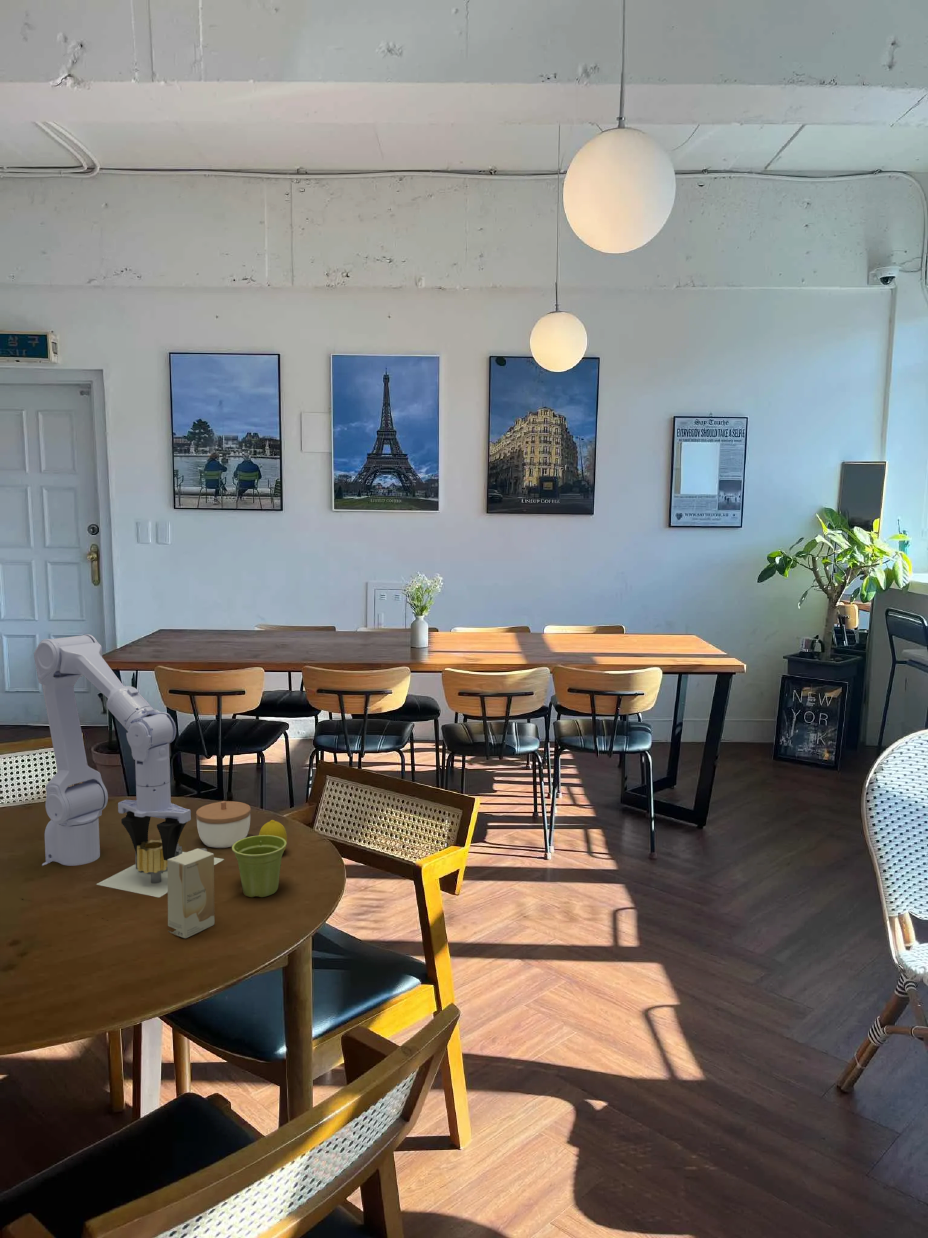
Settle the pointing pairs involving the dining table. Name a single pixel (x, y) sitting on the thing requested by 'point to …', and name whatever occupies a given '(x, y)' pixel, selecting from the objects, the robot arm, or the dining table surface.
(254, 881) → the plant pot
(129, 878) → the gear board
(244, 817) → the lidded jar
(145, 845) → the brass gear
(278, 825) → the lemon
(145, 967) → the dining table surface
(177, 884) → the skincare box
